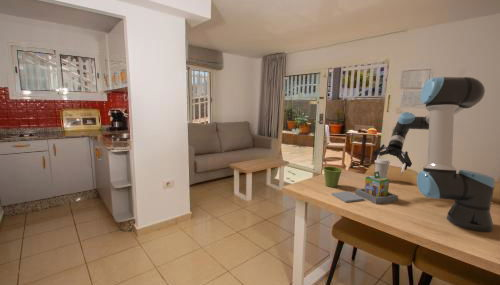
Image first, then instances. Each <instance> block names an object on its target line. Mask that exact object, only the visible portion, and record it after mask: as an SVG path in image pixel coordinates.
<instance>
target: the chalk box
mask: <svg viewBox="0 0 500 285" xmlns="http://www.w3.org/2000/svg"><path fill="white" fill-rule="evenodd" d="M376 174H378V176H376ZM364 188H365V192H366V193H368V194H370V195H373V196H375V197H382V196H388V192H389V188H390V179H389V178H387V177H386V178H384V177H380V176H379V172H378V171H377V172H375V171H374V172H373V175H368V176H365V183H364Z"/></svg>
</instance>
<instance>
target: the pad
mask: <svg viewBox="0 0 500 285" xmlns="http://www.w3.org/2000/svg"><path fill="white" fill-rule="evenodd" d="M331 195H332V196H333V197H335V198H336V199H339V200H340V201H342V202H343V203H354V202H360V201H361V202H363V201H365V198H363V197H361V196H358V195H356V194H355V193H354V192H351V191H338V192H332V193H331Z"/></svg>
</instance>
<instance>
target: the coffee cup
mask: <svg viewBox="0 0 500 285" xmlns="http://www.w3.org/2000/svg"><path fill="white" fill-rule="evenodd" d="M375 162H376V160H374V163H375ZM390 163H391V162H390V160H389V159H388V158H380V157H379V158H378V161H377V164H376V166H375V165H374V168H375V169H374V172H377V171H378V172H379V176H380V177H384V178H387V175H388V171H389V167H390V166H389V165H390ZM376 176H378V174H376Z"/></svg>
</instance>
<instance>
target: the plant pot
mask: <svg viewBox="0 0 500 285" xmlns="http://www.w3.org/2000/svg"><path fill="white" fill-rule="evenodd" d="M322 169H323V172H324V182H325V186H327V187H331V188H337V187H338V185H339V180H340V177H341V175H342V172H343V169H342V168H340V167H336V166H324V167H322Z"/></svg>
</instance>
